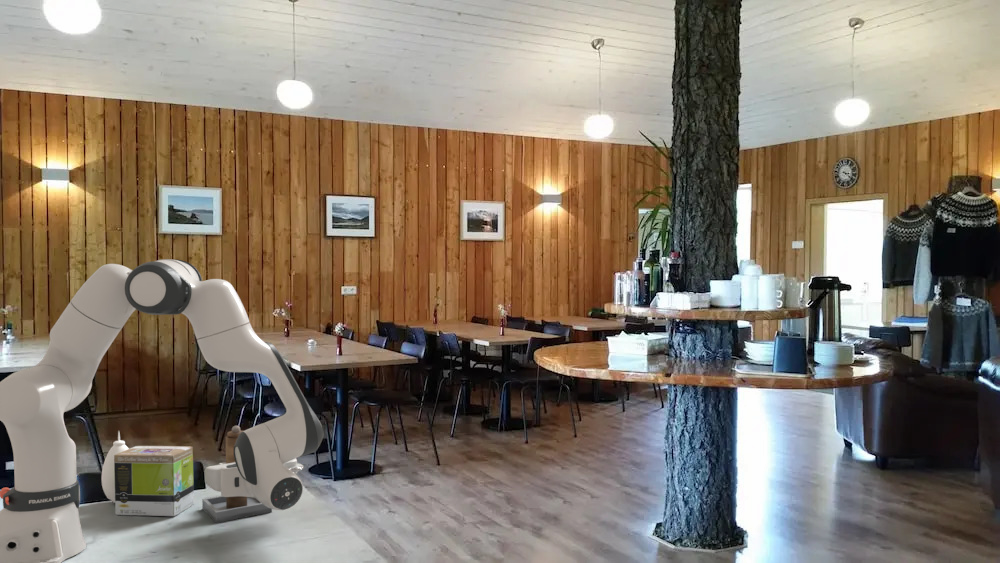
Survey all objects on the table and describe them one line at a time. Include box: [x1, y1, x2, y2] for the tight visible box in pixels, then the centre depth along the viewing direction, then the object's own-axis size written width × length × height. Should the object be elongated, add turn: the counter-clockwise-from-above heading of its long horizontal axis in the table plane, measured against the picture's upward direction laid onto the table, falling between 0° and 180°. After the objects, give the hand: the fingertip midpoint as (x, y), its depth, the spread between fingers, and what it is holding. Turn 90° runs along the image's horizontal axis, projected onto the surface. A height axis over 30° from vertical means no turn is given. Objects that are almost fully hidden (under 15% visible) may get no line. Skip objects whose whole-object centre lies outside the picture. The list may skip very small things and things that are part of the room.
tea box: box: [114, 445, 195, 517], centre depth 186 cm, size 15×10×15 cm
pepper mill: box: [225, 425, 247, 509], centre depth 185 cm, size 5×5×20 cm
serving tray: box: [202, 495, 273, 524], centre depth 186 cm, size 13×12×2 cm
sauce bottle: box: [101, 430, 130, 503], centre depth 192 cm, size 8×8×18 cm
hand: (242, 462), depth 182 cm, fingers open, 8 cm apart
